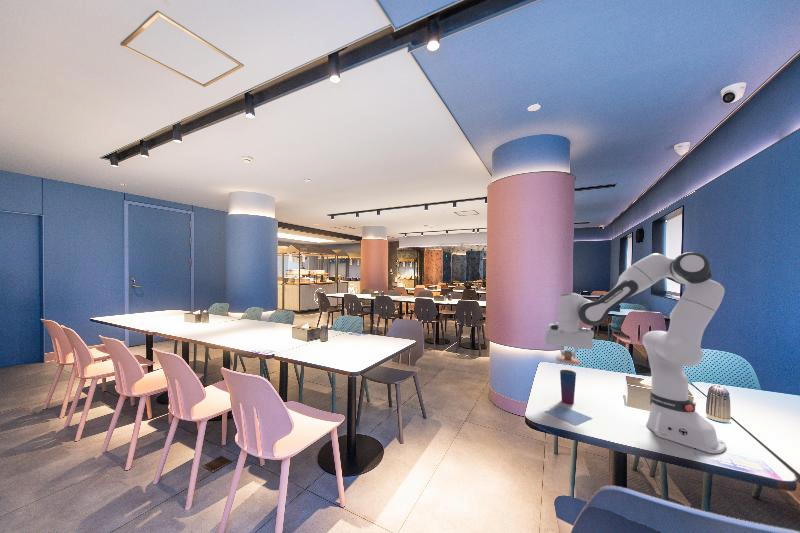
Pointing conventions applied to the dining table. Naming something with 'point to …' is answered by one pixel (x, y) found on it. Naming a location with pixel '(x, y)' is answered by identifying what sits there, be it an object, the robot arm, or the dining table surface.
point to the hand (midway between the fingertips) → (567, 355)
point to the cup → (567, 386)
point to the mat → (568, 415)
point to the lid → (568, 358)
